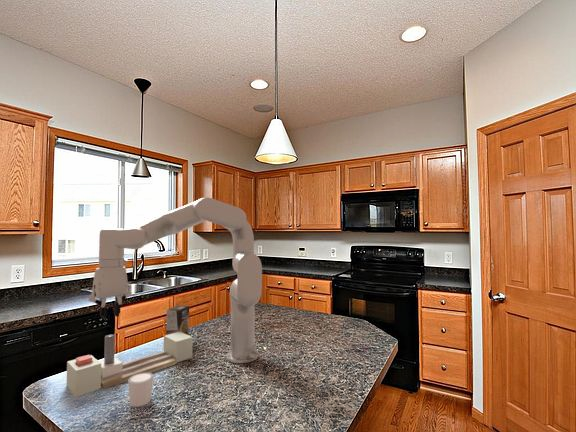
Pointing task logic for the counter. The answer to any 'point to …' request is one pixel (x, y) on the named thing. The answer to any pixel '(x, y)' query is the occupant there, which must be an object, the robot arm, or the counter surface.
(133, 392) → the pale pink cylinder cup
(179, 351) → the cabinet
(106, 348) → the carriage
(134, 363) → the rail track
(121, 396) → the counter surface
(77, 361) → the red block
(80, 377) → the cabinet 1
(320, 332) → the counter surface
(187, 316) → the coffee box
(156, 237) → the robot arm
